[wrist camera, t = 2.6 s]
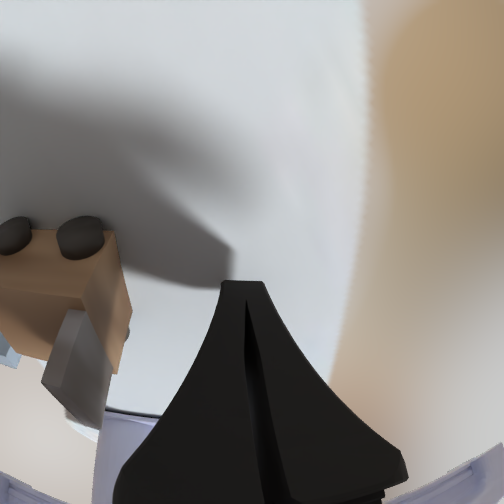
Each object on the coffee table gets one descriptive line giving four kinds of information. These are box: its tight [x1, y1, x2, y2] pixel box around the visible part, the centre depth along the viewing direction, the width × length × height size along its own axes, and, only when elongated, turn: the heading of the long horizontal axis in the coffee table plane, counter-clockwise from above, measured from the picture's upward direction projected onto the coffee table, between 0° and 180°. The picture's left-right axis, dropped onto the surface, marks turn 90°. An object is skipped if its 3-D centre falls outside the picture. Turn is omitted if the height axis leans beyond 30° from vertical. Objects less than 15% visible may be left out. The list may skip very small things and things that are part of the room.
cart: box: [0, 216, 133, 430], centre depth 8 cm, size 5×5×6 cm
